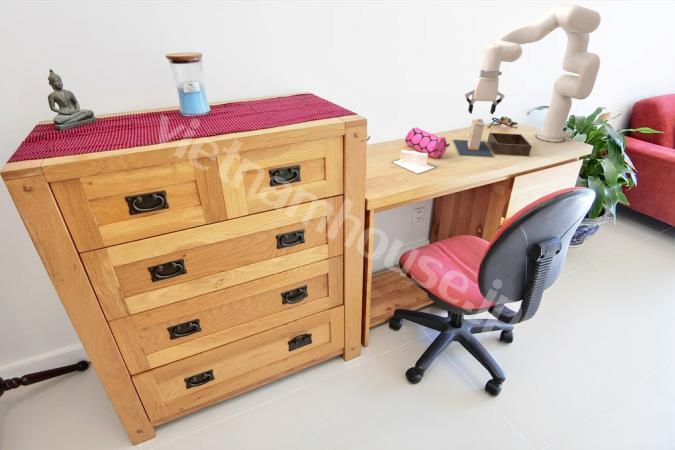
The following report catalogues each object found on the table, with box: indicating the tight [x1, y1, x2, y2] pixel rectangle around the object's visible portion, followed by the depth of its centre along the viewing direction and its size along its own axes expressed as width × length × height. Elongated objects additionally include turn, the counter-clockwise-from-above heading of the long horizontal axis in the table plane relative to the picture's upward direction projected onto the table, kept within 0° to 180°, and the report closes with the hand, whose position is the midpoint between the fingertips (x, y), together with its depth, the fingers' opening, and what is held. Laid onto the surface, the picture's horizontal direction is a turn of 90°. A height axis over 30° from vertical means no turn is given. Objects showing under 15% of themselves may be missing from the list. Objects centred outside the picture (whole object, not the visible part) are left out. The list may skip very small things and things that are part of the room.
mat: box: [453, 139, 494, 158], centre depth 182 cm, size 15×20×1 cm
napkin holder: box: [392, 149, 435, 174], centre depth 162 cm, size 15×11×6 cm
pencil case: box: [404, 126, 451, 159], centre depth 175 cm, size 21×10×10 cm, turn 35°
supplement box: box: [467, 118, 485, 151], centre depth 178 cm, size 8×5×13 cm, turn 169°
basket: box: [486, 132, 533, 157], centre depth 181 cm, size 16×17×5 cm
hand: (480, 113), depth 173 cm, fingers open, 9 cm apart
